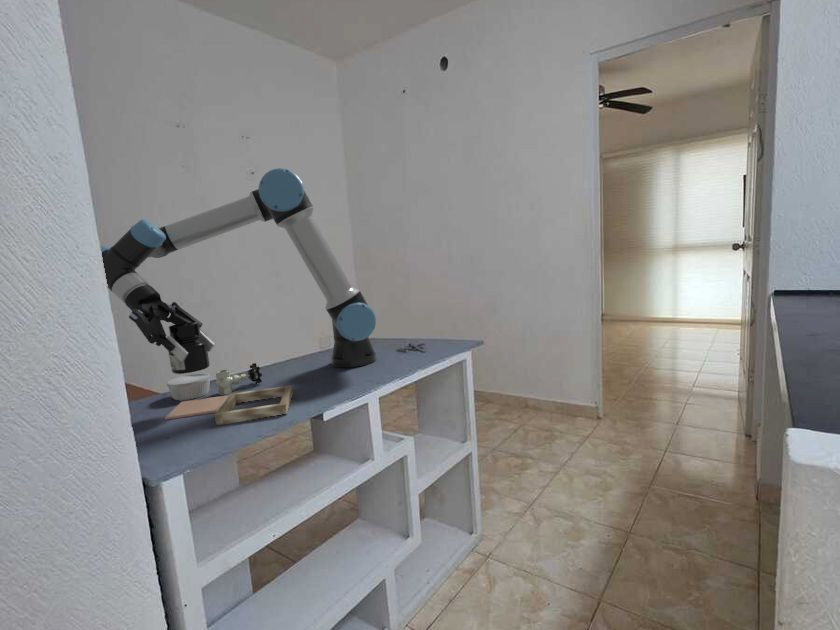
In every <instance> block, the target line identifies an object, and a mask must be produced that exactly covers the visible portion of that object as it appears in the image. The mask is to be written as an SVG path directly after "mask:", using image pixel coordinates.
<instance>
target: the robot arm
mask: <svg viewBox="0 0 840 630" xmlns="http://www.w3.org/2000/svg"><path fill="white" fill-rule="evenodd" d="M313 212H314V206H313V204H312V202H311V201H310V198H309V197H308V194H307V192H306V191H305V188H304V183H303V181H302V180H301V179H300V177H299V176H298V175H297V174H295V172H293V171H291V170H289V169H286V168H282V167H281V168H274V169H270V170H269V171H267V172H266V173H265V174H264V175H262V177H261V179H260V181H259V184H258V188H257V189H255V190H252V191H250V193H249V195H248V196H246V197H243V198H241V199H238V200H234V201H232V202H229V203H226V204H223V205H221V206H218V207H214V208H213V209H209V210H207V211H204V212H201V213H198V214H195V215H193V216H189V217H186V218H184V219H181V220H179V221H175V222H172V223H170V224H167V225H165V226H161V227H157V226H156V225H155V224H153V222H150V221H149V220H147V219H142V218H141V220H139V221H137V222H136V223H135V224H134V225H132V226H131V227H130V229H129V230H128V231H127V232H125V234H124V235H122V237H120V239H119V240H117V242H116V243H114V244H113V246H111V247H109V246H105V245H104V246H100V247H101V251H102V257H103V263H104V268H105V273H106V279H107V284H108V287H107V289H109V290H110V291H111V292H112V293H113V294H114V295H115V296H116V297H117V298H118V299H119V300H121V302H122V303H124V304H125V305H126V307H127V308H128V309H129V310H130V311H131V312H130V314H129V316H128V319H130V320H131V321H132V322H134V324H135V325H136V326H137V328H138V329H139V331H141V333H142V335H144V337H145V339H146V340H147V342H148V343H149V344H152V345H154V344H155V345H156V346H157V347H160V346H163V347H164V349H166V350H167V351H171V352H172V353H173V354H174V355H175V356H176V357H177V358H178V359H179V360H180V361H184V359H185V358H186V356H187V355H188V352H187V351H186V350H185V349H184V348H183V347H182V346H181V345H180V344H179V343H178V342H177V341H175V340H174V339H173V338H172V337H171V336H170V335H167V334H166V332H165V329H164V327H163V324H162V321H164V322H167V323H172V325H176V324H182V323H190V322H198V323H199V329H200V337H199V338H200V339H201V340H203V341H205V342H206V345H207V351H208V353H209V352H211V351H212V349H213V348H215V347H214V346H215V345H216V343H215V342H214V341H213V340H211V338H209V336H208V334H206V333H205V332H204V331H203V330H202V329H201V328H202V326H203V322H202V321H200V320H198V319H197V318H196V317H194V316H193V315H191V313H189V312H188V311H186V310H185V309H183V308H182V307H181V306H180V305H179V304H178V303H177V302H175V301H173V302H172V303H171V304H168V303H167V302H164V301H162V297H161V295H160V293H159V292H158V291H157V289H155V288H153V286H151V285H150V284H149V282H148V281H147V280H146V279H144V278H143V277H142V275H140V274H139V273H138V272H137V271H136V270H137V269H138V268H139V267H140V266H141V264H142V263H144V262H145V261H146V260H147V259H148V258H155V259H160V258H164V257H166V256H167V255H169V254H172V253H174V252H176V251H178V250H182V249H185V248H186V247H187V248H188V247H190V246H192V245H195V244H198V243H200V242H203V241H206V240H208V239H211V238H214V237H217V236H219V235H223V234H226V233H228V232H231V231H233V230H236V229H240V228H242V227H245V226H247V225H250V224H253V223H256V222H259V221H261V222H264V223H266V222H268V221H271V220H273V221H274V223H275V225H276V226H277V227H278V228H283V229H284V230H285V231H286V232H287V235H288V236H289V238H290V240H291V241H292V243H293V244H294V246H295V248H296V250H297V251H298V254H299V255H300V257H301V259H302V260H303V262H304V264H305V266H306V267H307V269H308V270H309V273H310V274H311V276H312V277H313V279H314V281H315V282H316V285H317V286H318V288H319V290H320V291H321V293H322V295H323V297H324V298H325V300H326V305H325V310H326V312H327V313H328V315H329V317H330V319H331V324H332V331H333V332H332V333H333V339H334V342H333V348H332V353H331V359H330V361H331V365H332V366H333V367H336V368H344V369H345V368H357V367H362V366H366V365H369V364H372V363H374V362H375V361H376V360H377V354H376V351H375V349H374V346H373V344H372V342H371V340H370V338H369V337H370V336H371V334H372V333H373V332H374V330H375V329H376V323H377V317H376V313H375V311H374V309H372V307H370V306H369V304H368V303H367V301H366V299H365V296H364V294H362V292H361V290H360V289H359V288H356V287H353V286H352V284H351V282H350V280H349V279H348V277H347V276H346V274H345V272H344V269H343V268H342V267H341V264H340V263H339V261H338V259H337V258H336V256H335V254H334V252H333V251H332V248H331V247H330V245H329V243H328V242H327V240H326V237H325V235H324V234H323V233H322V230H321V229H320V227H319V225H318V223H317V222H316V219H315V218H314V217H313Z"/></svg>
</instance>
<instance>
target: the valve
mask: <svg viewBox="0 0 840 630" xmlns="http://www.w3.org/2000/svg"><path fill="white" fill-rule="evenodd" d="M260 370H261V368H260V366H257V363H256V362H254V363H253V362H252V364H251V365H249V370H248V371H247V374H246V373H242V374H240V375H237V374H236V373H235V374H230V369H222V370H221V369H220V370H218V371H216V372H215V377H216V382H215V383H216V387H217V389H218V395H219V396H226V395H230V394H233V387H232V386H233V385H238V384H239V383H240V381H241V382H243V381H246V380H247V379H250V381H251V382H254V384H255V385H258V384H257V383H259V384H260V383H262V379H261V377H262V376H263V374H262V373H261V372H260ZM229 393H230V394H229ZM225 394H226V395H225Z"/></svg>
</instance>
